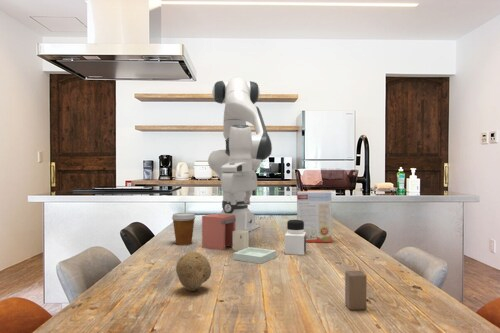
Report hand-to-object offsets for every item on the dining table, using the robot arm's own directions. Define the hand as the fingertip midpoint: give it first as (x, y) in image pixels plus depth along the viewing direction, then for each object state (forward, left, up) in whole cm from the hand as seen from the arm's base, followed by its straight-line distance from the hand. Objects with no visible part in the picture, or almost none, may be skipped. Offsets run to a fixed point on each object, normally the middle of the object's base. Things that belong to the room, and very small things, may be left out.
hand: (240, 203), depth 155 cm
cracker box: (-29, +18, -18) cm, 39 cm away
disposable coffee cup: (+2, -26, -18) cm, 32 cm away
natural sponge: (+47, +15, -18) cm, 52 cm away
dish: (+9, +11, -17) cm, 23 cm away
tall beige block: (0, 0, -18) cm, 18 cm away
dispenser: (0, -10, -17) cm, 20 cm away
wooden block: (+38, +55, -18) cm, 69 cm away
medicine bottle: (-6, +20, -18) cm, 27 cm away
